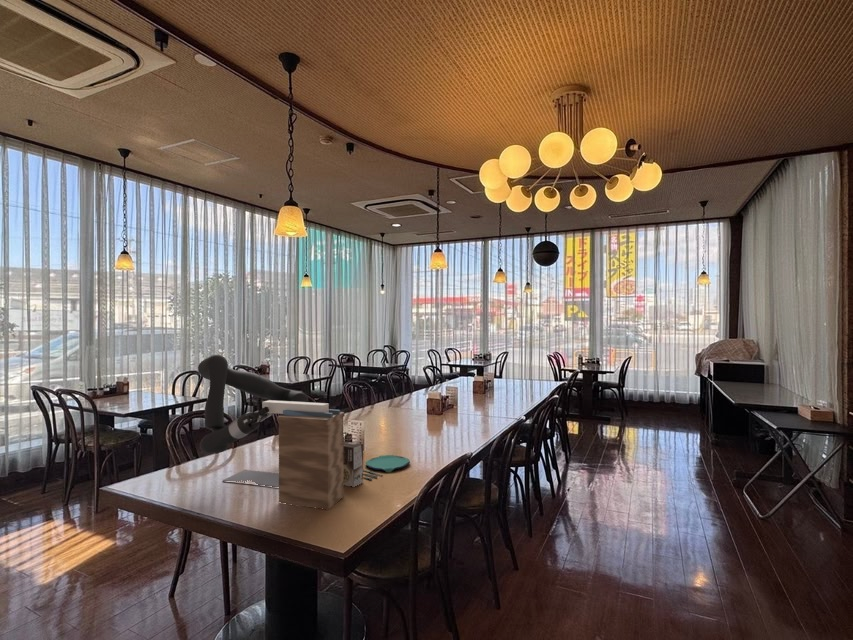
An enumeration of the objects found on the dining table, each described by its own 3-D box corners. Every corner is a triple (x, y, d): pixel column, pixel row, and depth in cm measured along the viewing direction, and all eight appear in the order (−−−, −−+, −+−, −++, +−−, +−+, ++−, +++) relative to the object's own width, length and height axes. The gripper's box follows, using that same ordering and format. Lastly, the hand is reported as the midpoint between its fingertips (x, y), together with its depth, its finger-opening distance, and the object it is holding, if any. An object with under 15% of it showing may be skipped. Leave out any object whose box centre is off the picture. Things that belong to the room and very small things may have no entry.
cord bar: (268, 410, 174) (268, 400, 174) (328, 414, 167) (328, 403, 167) (262, 412, 170) (262, 401, 170) (323, 416, 163) (323, 405, 163)
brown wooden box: (298, 490, 176) (298, 405, 176) (344, 496, 170) (344, 408, 170) (277, 504, 162) (277, 412, 162) (326, 511, 157) (326, 415, 157)
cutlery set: (417, 464, 209) (417, 459, 209) (373, 483, 185) (373, 478, 185) (386, 457, 221) (386, 452, 221) (340, 474, 197) (340, 469, 197)
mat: (245, 471, 199) (245, 469, 199) (304, 477, 191) (304, 475, 191) (222, 481, 186) (222, 480, 186) (285, 489, 177) (285, 487, 177)
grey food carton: (363, 482, 184) (363, 443, 184) (353, 487, 179) (353, 447, 179) (346, 479, 189) (346, 440, 189) (336, 483, 183) (336, 444, 183)
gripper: (227, 420, 168) (258, 400, 164) (252, 413, 182) (281, 394, 178) (235, 438, 167) (267, 419, 163) (259, 429, 181) (290, 411, 177)
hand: (275, 406), depth 171 cm, fingers open, 8 cm apart
